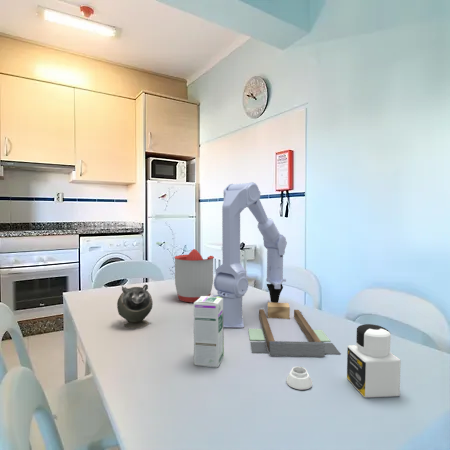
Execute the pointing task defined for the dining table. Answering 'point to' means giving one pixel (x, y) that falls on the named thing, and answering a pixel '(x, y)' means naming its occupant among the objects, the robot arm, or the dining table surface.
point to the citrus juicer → (193, 276)
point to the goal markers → (259, 336)
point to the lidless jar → (299, 378)
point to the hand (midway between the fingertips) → (274, 304)
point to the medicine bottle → (373, 363)
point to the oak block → (278, 310)
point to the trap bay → (294, 348)
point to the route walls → (300, 320)
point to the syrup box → (208, 331)
